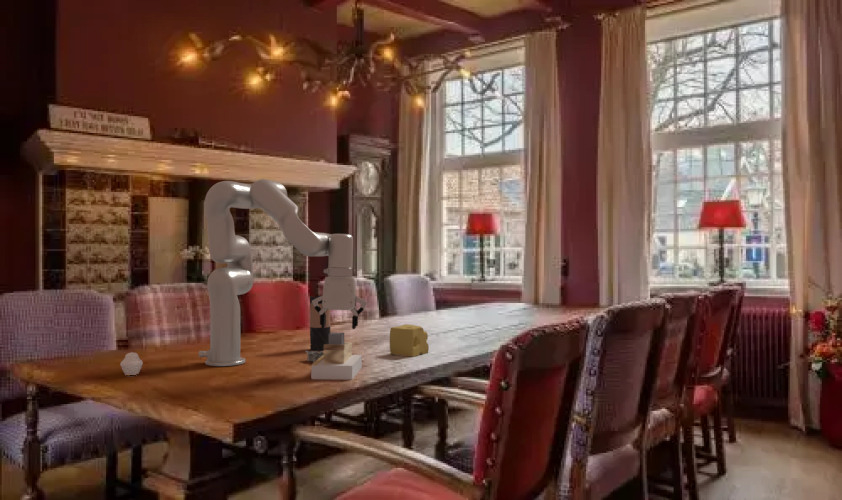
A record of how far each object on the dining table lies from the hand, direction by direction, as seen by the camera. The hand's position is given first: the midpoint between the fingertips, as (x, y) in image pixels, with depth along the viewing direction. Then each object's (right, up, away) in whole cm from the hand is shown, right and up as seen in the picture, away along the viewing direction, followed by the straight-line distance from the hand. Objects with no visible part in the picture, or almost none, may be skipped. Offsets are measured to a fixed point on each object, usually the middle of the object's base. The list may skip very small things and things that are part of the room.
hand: (338, 327), depth 202 cm
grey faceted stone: (-61, -13, -9) cm, 63 cm away
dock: (0, -13, -5) cm, 14 cm away
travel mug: (-12, -13, +41) cm, 44 cm away
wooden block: (0, -9, -4) cm, 10 cm away
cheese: (+21, -13, +31) cm, 40 cm away
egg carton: (-8, -14, +15) cm, 22 cm away
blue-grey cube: (0, -5, -5) cm, 7 cm away
